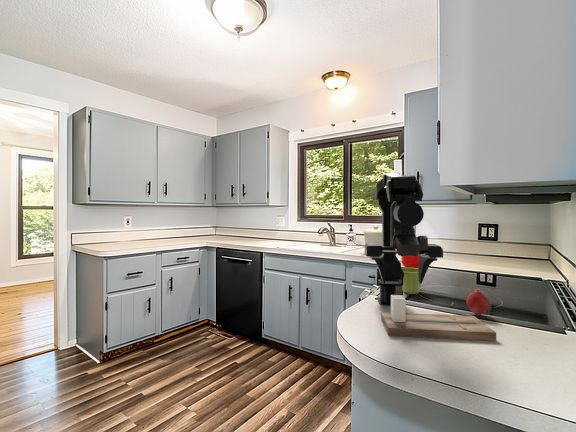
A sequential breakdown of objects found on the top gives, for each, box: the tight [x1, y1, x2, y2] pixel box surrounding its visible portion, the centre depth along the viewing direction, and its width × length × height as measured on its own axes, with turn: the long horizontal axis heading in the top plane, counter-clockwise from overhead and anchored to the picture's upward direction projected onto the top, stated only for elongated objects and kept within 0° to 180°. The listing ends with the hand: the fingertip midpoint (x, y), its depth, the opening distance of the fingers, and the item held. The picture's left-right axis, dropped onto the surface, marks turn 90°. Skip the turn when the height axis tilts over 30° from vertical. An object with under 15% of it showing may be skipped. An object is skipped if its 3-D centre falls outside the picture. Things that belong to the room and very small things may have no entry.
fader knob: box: [390, 294, 407, 322], centre depth 83 cm, size 4×3×6 cm
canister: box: [362, 224, 383, 255], centre depth 222 cm, size 18×18×21 cm
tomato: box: [401, 254, 422, 269], centre depth 168 cm, size 11×13×10 cm
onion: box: [465, 288, 490, 316], centre depth 92 cm, size 6×6×8 cm
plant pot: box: [401, 267, 422, 295], centre depth 119 cm, size 9×9×9 cm
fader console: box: [380, 311, 497, 342], centre depth 82 cm, size 12×25×2 cm, turn 82°
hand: (401, 282), depth 81 cm, fingers open, 9 cm apart
